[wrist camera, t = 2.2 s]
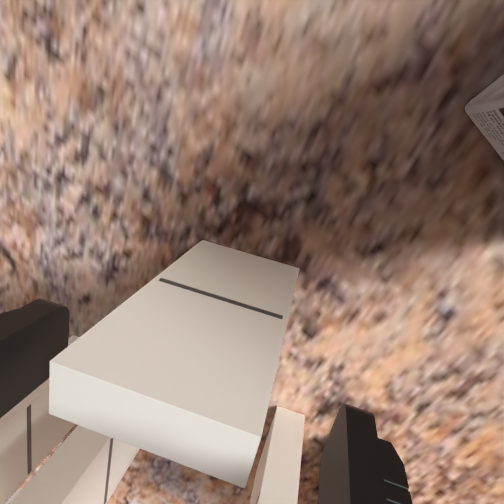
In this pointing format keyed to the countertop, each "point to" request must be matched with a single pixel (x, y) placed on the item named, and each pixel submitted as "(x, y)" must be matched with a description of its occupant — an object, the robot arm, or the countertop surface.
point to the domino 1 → (28, 437)
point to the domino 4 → (280, 460)
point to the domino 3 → (184, 362)
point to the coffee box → (490, 114)
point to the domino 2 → (79, 471)
